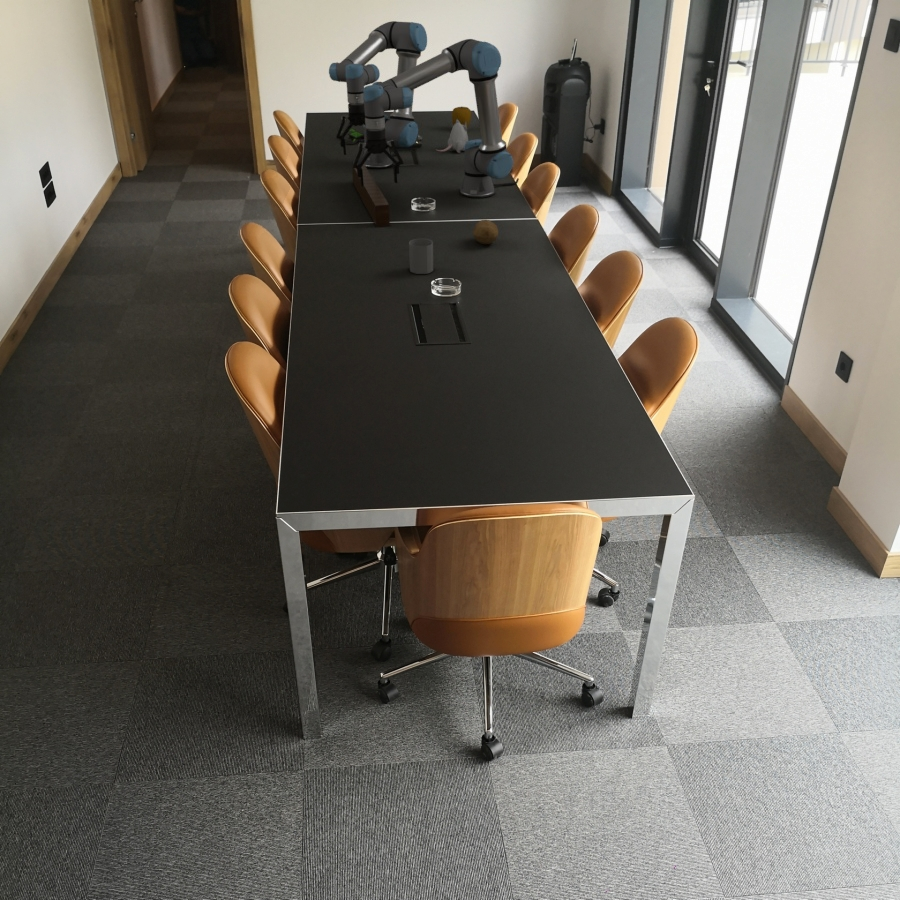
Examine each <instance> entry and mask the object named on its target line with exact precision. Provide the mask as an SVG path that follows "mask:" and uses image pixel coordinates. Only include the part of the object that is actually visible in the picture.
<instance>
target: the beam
mask: <svg viewBox="0 0 900 900" xmlns="http://www.w3.org/2000/svg"><path fill="white" fill-rule="evenodd" d="M357 165H358V163H357ZM361 168H362V170H363V183H364V186H361V180H360V177H358V175H357V169H356V168H353V166H352V165H351V170H352V171H351V172H352V173H351V174H352V184H353V186H354V187H355V190H356V191H357V194H358V195H359V197H360V199H361V200H362V202H363V205H364V207H365V208H366V210H367V212H368V214H369V215H370V218H371V219H372V221H373V223H374V225H375V227H376V228H378V227H390V226H391V222H390V221H391V220H390V219H391V217H390V204H389V202H388V200H387V199H386V197H385V196H384V194H383V192H382V190H380V187H379V186H378V184H377V183H376V180H375V179H374V178H373V176H372V174H371V173H370V171H369V170H368V168H366V166H365V165H364V164H363V166H362V167H361Z"/></svg>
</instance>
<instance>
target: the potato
mask: <svg viewBox="0 0 900 900" xmlns="http://www.w3.org/2000/svg"><path fill="white" fill-rule="evenodd" d="M472 232H473V233H472V234H473V238H474V239H475V241H477V242H478V243H479V244H482V245H490V244H491V243H493V242H495V241H496V240H497V238H498V235H499V228H498V226H497V225H496V224H495V223H494V222H492V221H491V220H490V219H481V220H480V221H478V222H477V223H476V224H475V225H474V228H473V231H472Z"/></svg>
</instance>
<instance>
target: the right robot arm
mask: <svg viewBox="0 0 900 900" xmlns="http://www.w3.org/2000/svg"><path fill="white" fill-rule="evenodd" d="M501 65H502V56H501V53H500V51H499V49H498V47H496V46H495V45H494V44H492V43H490V42H487V41H481V40H478V39H474V38H467V39H462V40H460V41H458V42H455V43H454V44H451V45H449V46H448V47H445V48H443V49H442V50H441V53H440V54H437V55H435V56H433V57H431V58H429V59H427V60H425V61H423V62H421V63H419V64H417V65H416V66H415V67H413V68H411V69H409V70H407V71H405V72H403V73H401V74H399V75H397V74H396V75H395V76H393V77H391V78H388V79H386V80H385V81H376V82H374V83H372V84H368V85H365V86H364V93H363V97H364V98H363V100H364V109H365V124H366V128H367V130H366V139H367V141H366V143H365V142H362V141H358V148H357V151H356V153H355V156H354V159H353V161H352V164H351V167H352V166H353V168H356V169H357V175H358V177H360V180H361V186H364V183H363V170H362V168H361V167H362V166H363V164H364V163H365V161H366V160H367V159H368V157H369V156H370V155H371V154H377V153H378V154H381V153H382V152H384V153H385V154H386V155H387V156H388V157H389V158H390V159H391V160H392V161H393V165H392V167H393V181H394V183H395V184H398V175H400V166H401V165H404V160H403V159H402V157H401V155H400V153H399V151H398V150H397V148H396V146H395V144H394V141H393V140H390V141H386V133H385V129H384V128H385V118H384V117H385V115H386V114H385V112H391V111H394V110H398V109H405V108H409V107H411V106H412V107H413V105H414V95H412V92H411V91H412V90H414V91H415V89H418V88H419V87H422V86H424V85H425V84H427V83H430V82H431V81H434V80H436V79H438V78H440V77H442V76H444V75H446V74H448V73H449V74H453V73H456V72H459V71H467V74H468V80H469V82H470V83H471V84H473V90H474V97H475V104H476V111H477V118H478V124H479V125H478V126H479V133H480V138H477V139H470V140H468V141H467V142H466V143H465V149H464V151H463V152H464V175H463V179H462V182H461V184H460V185H461V186H460V188H459V194H460V195H461V196H463V197H466V198H471V199H484V198H489V197H492V196H494V195H495V187H502V186H504V187H505V186H513V185H517V184H518V183H519V180H520V179H519V178H516V180H515V181H513V182H505V183H504V182H503V183H493V180H492V179H495V180H502V179H504V178H506V177H507V176H508V175H509V174H510V173H511V171H512V170H513V166H514V159H513V156H512V155H511V153H510V152H508V147H507V142H506V141H505V140H504V139H503V135H502V127H501V119H500V112H499V103H498V96H497V89H496V80H497V78H498V77H499V73H498V72H499V71H500V68H501ZM412 104H413V105H412ZM387 144H388V145H389V148H391V149H392V151H393V154H394V153H395V155H394V156H396V158H397V160H396V159H395V157H394V156H391V155H392V154H391V152H390V153H389V152H388V151H387V150H386V149H385V148H386V146H387ZM365 146H366V147H367V148H368V150H367V151H366V153H365V155H364V154H363V155H364V156H363V155H362V153H363V150H365ZM361 155H362V157H361ZM360 158H361V159H360ZM357 164H358V165H357Z"/></svg>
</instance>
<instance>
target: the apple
mask: <svg viewBox="0 0 900 900" xmlns="http://www.w3.org/2000/svg"><path fill="white" fill-rule="evenodd" d="M456 120H458V121H459V122H460V124H461V125H464V126H465V123H466V124H467V129H468V128H469V126H470V124H471V121H472V111H471V108H469V107H467V106H462V105H461V106H457V107H454V108H452V111H451V121H452V126H454V124H456Z"/></svg>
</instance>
